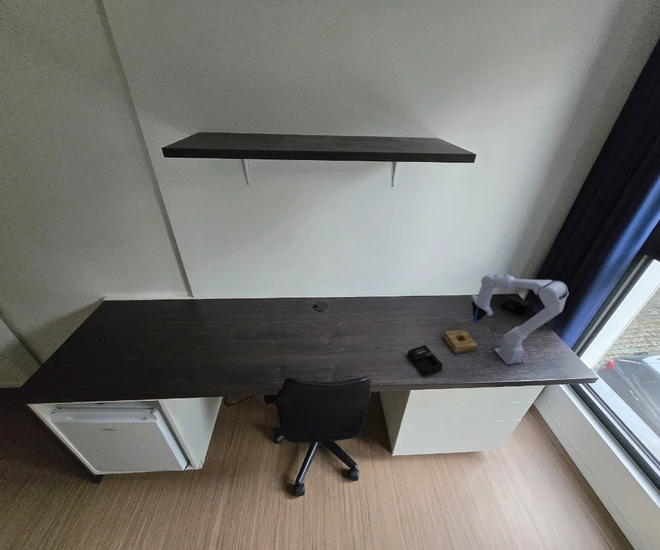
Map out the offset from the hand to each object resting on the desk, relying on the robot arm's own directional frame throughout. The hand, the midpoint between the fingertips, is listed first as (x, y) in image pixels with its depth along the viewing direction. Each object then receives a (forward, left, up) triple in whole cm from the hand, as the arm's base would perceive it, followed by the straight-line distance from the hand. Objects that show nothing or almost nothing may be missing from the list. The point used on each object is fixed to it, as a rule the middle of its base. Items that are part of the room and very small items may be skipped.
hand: (476, 317), depth 148 cm
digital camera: (+13, -35, -10) cm, 39 cm away
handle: (0, 0, -3) cm, 3 cm away
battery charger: (-15, +35, -10) cm, 39 cm away
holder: (-7, +12, -10) cm, 17 cm away
